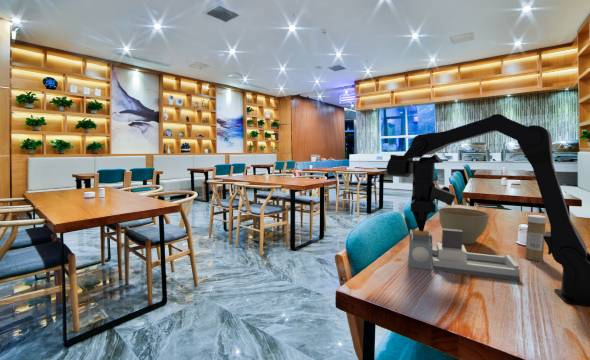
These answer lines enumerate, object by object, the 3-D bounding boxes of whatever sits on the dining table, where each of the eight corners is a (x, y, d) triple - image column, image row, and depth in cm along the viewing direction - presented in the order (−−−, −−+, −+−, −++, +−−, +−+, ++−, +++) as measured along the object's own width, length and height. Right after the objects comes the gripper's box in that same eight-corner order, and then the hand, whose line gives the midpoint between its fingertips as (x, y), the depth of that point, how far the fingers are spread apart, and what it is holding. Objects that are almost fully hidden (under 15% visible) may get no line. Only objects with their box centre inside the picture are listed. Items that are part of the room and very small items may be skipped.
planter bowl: (472, 250, 104) (474, 218, 103) (428, 238, 117) (429, 210, 116) (495, 242, 112) (497, 212, 111) (452, 232, 126) (453, 206, 125)
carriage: (466, 266, 85) (467, 234, 85) (438, 262, 88) (439, 231, 87) (462, 258, 92) (464, 228, 91) (436, 255, 94) (438, 226, 94)
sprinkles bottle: (545, 259, 95) (549, 216, 93) (539, 262, 92) (543, 217, 91) (528, 255, 98) (531, 213, 97) (521, 258, 96) (524, 215, 95)
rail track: (519, 281, 79) (520, 268, 79) (433, 269, 86) (434, 258, 86) (506, 264, 90) (507, 253, 90) (431, 256, 97) (432, 245, 97)
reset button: (428, 239, 90) (428, 232, 90) (413, 238, 91) (413, 231, 91) (427, 236, 94) (428, 229, 93) (413, 234, 95) (413, 228, 95)
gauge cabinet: (431, 270, 86) (432, 239, 85) (408, 267, 88) (409, 237, 87) (429, 256, 98) (431, 229, 97) (409, 253, 100) (410, 227, 99)
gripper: (458, 182, 79) (455, 242, 81) (450, 176, 96) (448, 226, 98) (411, 180, 83) (409, 237, 85) (412, 175, 100) (410, 223, 102)
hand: (421, 230), depth 92 cm, fingers closed, pressing on reset button
